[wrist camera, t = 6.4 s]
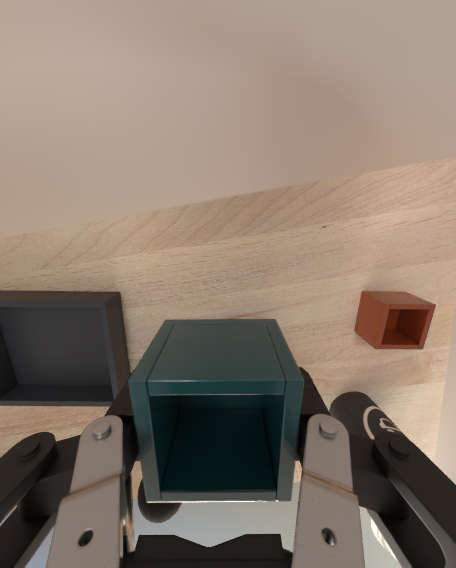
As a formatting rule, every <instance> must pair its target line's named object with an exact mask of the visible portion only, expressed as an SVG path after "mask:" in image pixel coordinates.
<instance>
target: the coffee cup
mask: <svg viewBox="0 0 456 568" xmlns="http://www.w3.org/2000/svg"><path fill="white" fill-rule="evenodd" d="M330 415H331V416H332V417H334V418H335V419H337V420H338V421H340V422H341V423H342V424H343V425H344V427H345V428H346V430H347V431H348V432H350V433H352V434H355V435H359V436H363V437H366V438H370V439H373V440H374V437H375V435H376V433H378V432H380V431H392V432H395V433H398V434H400V435H402V436H404V437H406V436H405V435H404V434H403V433H402V432H401V431H400V430H399V428H398V427H397V426H396V425H395V424H394V423H393V422H392V421H391V420H390V419H389V418H388V417H387V416H386V415H385V414H384V412H383V411H382V410H381V409H380V408H379V407H378V406H377V405H376V404H375V403H374V402H373V401H372V400H371V399H370V398H369V397H368V396H367V395H366V394H363V393H360V392H349V393H345V394H343V395H341V396H339V397H338V398H337V399H335V400H334V402H333V403H332V405H331V407H330ZM406 438H407V437H406ZM407 439H408V438H407ZM371 528H372V531H373V533H374V535H375V536H376V538H377V539H378V541H379V542H380V543H381V545H382V546H383V547H384V548H385V549H386V550H387V551H388V552H389V553H391V554H392V555H393V557H394V558H395V559H396V561H397V562H398V560H397V558H396V557H395V555H394V554H393V552H392V550H391V549H390V547H389V545H388V544H387V542H386V541H385V539H384V537H383V536H382V534H381V533H380V531H379V529H378V528H377V526H376V524H375V523H374V521H373V520H372V519H371ZM398 563H399V562H398ZM399 565H400V563H399ZM400 566H401V565H400Z"/></svg>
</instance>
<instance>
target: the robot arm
mask: <svg viewBox="0 0 456 568" xmlns="http://www.w3.org/2000/svg"><path fill="white" fill-rule="evenodd" d="M298 368H299V370H300V372H301V374H302V376H303V378H304V387H303V396H302V405H301V414H300V424H299V433H298V442H297V451H296V461H300V463H301V467H302V475H301V484H300V492H299V501H298V509H297V518H296V527H295V535H294V544H293V552H290V551H288V550H285V549H283V547H282V542H281V535H280V534H245V535H243V536H240V537H237V538H234V539H232V540H229V541H226V542H224V543H221V544H218V545H216V546H213V547H205V546H202V545H200V544H197V543H194V542H192V541H189V540H186V539H183V538H181V537H178V536H175V535H139V537H138V541H137V545H136V548H135V540H134V526H133V498H132V475H131V471H132V468H133V466H134V463H135V461H140V457H139V450H138V443H137V437H136V430H135V424H134V417H133V411H132V404H131V397H130V391H129V384H128V380H129V378H130V377H131V375H132V373H131V374H130V375H129V377H128V378H127V380H126V382H125V384H124V385H123V387H122V388H121V391H119V393H118V395H117V396H116V398H115V400H114V401H113V403H112V404H111V406H110V408H109V409H108V411H107V413H106V414H105V416H104V417H101V418H98V419H96V420H95V421H93V422H92V423H90V424H89V425H88V426H87V427H86V428H85V429H84V431H83V432H82V434H81V435H78V436H75V437H71V438H68V439H64V440H61V441H57V442H56V440H55V437H54V435H53V434H52V433H49V432H40V433H36V434H33V435H31V436H29V437H27V438H25V439H23V440H21V441H20V442H18V443H17V444H16V445H14V446H13V447H12V448H11V449H10V450H9V451H8V452H6V453H5V454H4V455H3V456H2V457H1V458H0V523H1V521H2V520H3V519H4V518H5V517H6V516H7V515H8V514H9V512H10V511H11V510H12V509H13V508H14V507H15V506H16V505H17V508H16V509H15V510H14V511H13V512H12V514H11V515H10V516H9V517H8V518H7V519H6V520H5V522H4V523H3V524H2V525H1V526H0V568H25V567H26V565H27V564H28V563H29V561H30V560H31V558H32V557H33V555H34V554H35V552H36V551H37V550H38V548H39V547H40V545H41V544H42V542H43V541H44V540H45V538H46V537H47V535H48V534H49V532H50V531H51V529H52V528H53V527H54V525H55V527H54V532H53V536H52V541H51V546H50V550H49V555H48V559H47V564H46V568H365V561H364V551H363V542H362V531H361V520H360V510H359V506H361V507H364V508H366V510H367V511H368V513H369V515H370V516H371V518H372V520H373V521H374V523H375V524H376V526H377V528H378V529H379V531H380V533H381V534H382V536H383V537H384V539H385V541H386V542H387V544H388V545H389V547H390V549H391V550H392V552H393V554H394V555H395V557H396V558H397V560H398V562H399V563H400V565H401V566H402V568H456V485H455V484H454V483H453V482H452V481H451V480H450V479H449V478H448V477H447V476H446V475H445V474H444V473H443V472H442V471H441V470H440V469H439V468H438V467H437V466H436V465H435V464H434V463H433V462H432V461H431V460H430V459H429V458H428V457H427V456H426V455H425V454H424V453H423V452H422V451H421V450H420V449H419V448H418V447H417V446H416V445H415V444H414V443H413V442H411V441H410V440H409V439H407V438H406V437H404V436H402V435H400V434H398V433H395V432H392V431H380V432H378V433H376V435H375V437H374V440H373V439H370V438H366V437H363V436H359V435H355V434H352V433H350V432H348V431H347V430H346V428H345V427H344V425H343V424H342V423H341V422H340V421H338V420H337V419H335V418H334V417H332V416H331V415H330V413H329V411H328V409H327V407H326V406H325V404H324V402H323V400H322V398H321V396H320V394H319V392H318V390H317V388H316V386H315V385H314V384H313V381H312V379H311V377H310V375H309V374H308V373H307V372H306V371H305V370H304V369H303V368H302V367H298Z"/></svg>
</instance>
